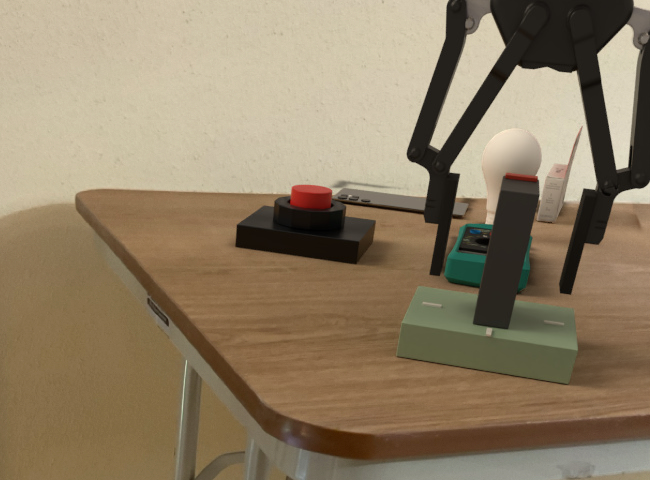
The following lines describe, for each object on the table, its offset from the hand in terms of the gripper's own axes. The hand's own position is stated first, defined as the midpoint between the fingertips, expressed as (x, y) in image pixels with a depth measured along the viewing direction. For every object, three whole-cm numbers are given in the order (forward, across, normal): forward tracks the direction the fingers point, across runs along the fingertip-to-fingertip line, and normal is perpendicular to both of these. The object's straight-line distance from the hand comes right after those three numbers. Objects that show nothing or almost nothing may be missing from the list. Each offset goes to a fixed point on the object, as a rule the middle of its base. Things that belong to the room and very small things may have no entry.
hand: (499, 279), depth 63 cm
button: (+2, +19, -23) cm, 30 cm away
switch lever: (+3, 0, 0) cm, 3 cm away
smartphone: (+5, +12, -49) cm, 51 cm away
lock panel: (+5, 0, 0) cm, 5 cm away
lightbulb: (+5, +1, -38) cm, 38 cm away
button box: (+5, +19, -23) cm, 30 cm away
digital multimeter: (+5, +1, -23) cm, 24 cm away
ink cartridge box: (+5, -6, -55) cm, 55 cm away
